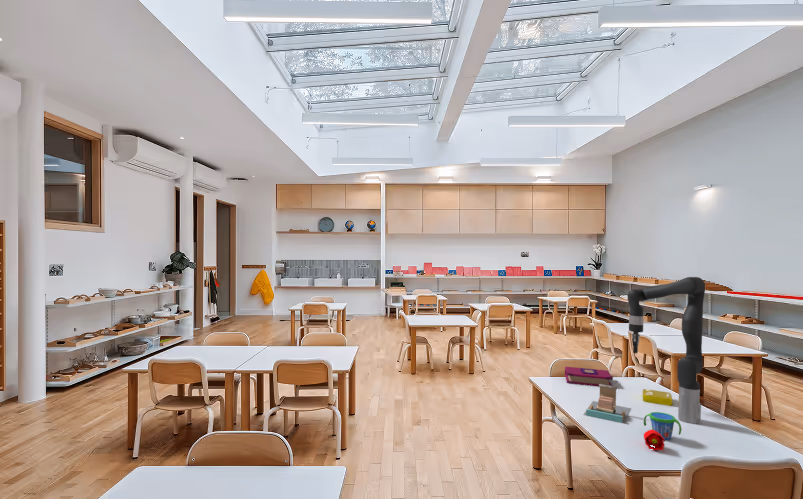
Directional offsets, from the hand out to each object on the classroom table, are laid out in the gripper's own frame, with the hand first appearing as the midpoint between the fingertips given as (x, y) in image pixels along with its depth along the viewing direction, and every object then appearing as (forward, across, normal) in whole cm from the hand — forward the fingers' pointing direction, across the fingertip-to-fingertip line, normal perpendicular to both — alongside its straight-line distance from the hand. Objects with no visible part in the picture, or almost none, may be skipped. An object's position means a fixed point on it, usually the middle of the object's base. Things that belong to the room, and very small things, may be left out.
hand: (635, 352), depth 261 cm
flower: (+29, -64, -14) cm, 72 cm away
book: (+30, +30, +31) cm, 52 cm away
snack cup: (+29, -48, -16) cm, 59 cm away
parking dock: (+29, -28, +10) cm, 42 cm away
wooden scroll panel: (+28, -34, +10) cm, 45 cm away
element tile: (+30, +13, -11) cm, 34 cm away
